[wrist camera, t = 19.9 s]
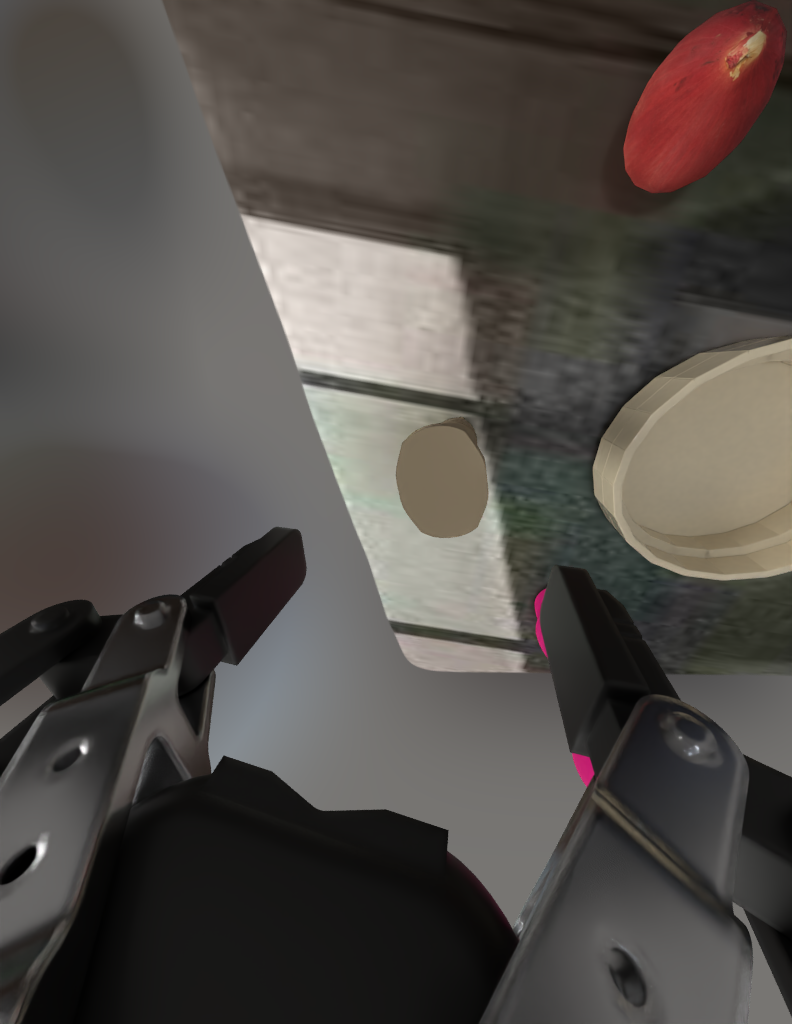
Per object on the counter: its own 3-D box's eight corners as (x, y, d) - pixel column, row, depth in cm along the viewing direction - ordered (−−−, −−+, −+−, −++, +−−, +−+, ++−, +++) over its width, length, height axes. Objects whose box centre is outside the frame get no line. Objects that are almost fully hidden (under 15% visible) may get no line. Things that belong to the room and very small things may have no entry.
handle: (478, 393, 27) (480, 417, 14) (485, 460, 30) (493, 534, 17) (426, 404, 29) (385, 435, 16) (437, 468, 31) (410, 540, 18)
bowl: (626, 342, 23) (664, 335, 19) (921, 338, 20) (1064, 329, 15) (569, 532, 31) (586, 563, 26) (775, 555, 27) (838, 596, 22)
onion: (651, 69, 18) (764, -125, 11) (741, 107, 18) (916, -65, 11) (584, 196, 21) (640, 109, 14) (662, 230, 20) (758, 160, 13)
